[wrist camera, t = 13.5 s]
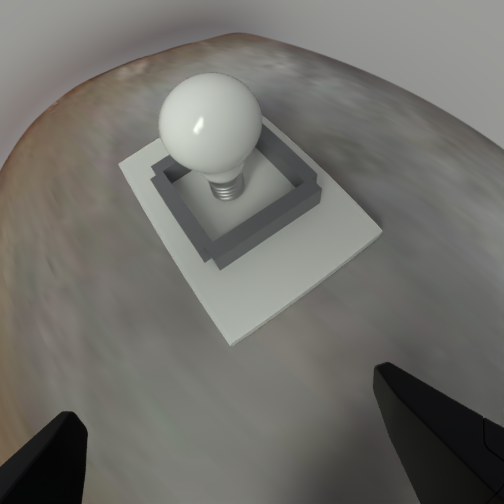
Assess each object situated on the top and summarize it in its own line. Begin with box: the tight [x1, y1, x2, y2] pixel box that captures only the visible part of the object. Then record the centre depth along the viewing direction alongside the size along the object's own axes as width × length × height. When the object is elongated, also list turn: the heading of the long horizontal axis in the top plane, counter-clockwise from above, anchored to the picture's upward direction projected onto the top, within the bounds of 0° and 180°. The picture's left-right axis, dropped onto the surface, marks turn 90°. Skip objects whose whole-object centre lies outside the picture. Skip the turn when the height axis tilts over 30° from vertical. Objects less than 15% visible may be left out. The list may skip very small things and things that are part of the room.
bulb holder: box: [118, 115, 383, 346], centre depth 25 cm, size 20×14×3 cm
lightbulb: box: [158, 72, 262, 201], centre depth 21 cm, size 6×6×11 cm
